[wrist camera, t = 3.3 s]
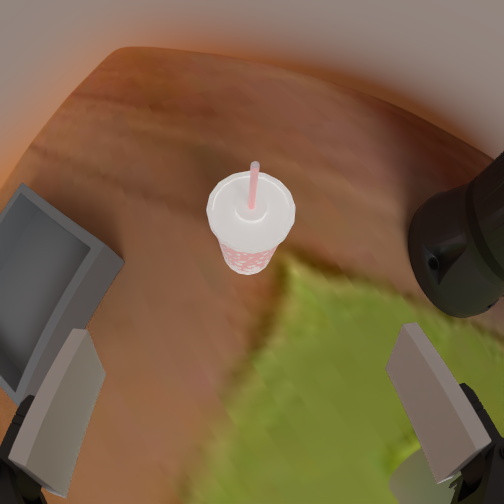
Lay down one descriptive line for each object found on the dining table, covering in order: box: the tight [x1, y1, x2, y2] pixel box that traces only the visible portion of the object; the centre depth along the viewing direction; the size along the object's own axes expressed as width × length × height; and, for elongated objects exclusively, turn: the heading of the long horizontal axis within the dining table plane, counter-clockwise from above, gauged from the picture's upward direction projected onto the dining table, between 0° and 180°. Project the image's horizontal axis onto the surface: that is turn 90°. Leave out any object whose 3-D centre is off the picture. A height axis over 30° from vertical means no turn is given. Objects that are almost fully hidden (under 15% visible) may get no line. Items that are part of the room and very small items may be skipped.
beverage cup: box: [206, 161, 295, 275], centre depth 22 cm, size 6×6×14 cm
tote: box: [0, 182, 125, 407], centre depth 24 cm, size 18×15×5 cm
